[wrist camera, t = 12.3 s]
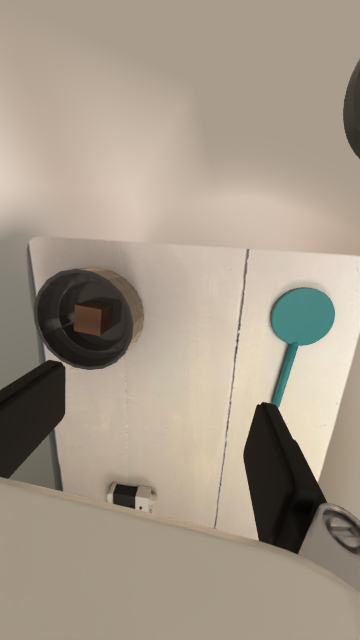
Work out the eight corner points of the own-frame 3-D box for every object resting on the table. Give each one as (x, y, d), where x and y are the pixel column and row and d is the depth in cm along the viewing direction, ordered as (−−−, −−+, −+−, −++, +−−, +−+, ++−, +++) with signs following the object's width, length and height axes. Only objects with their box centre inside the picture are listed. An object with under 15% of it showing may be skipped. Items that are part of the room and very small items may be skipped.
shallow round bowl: (60, 261, 36) (32, 261, 30) (148, 276, 35) (137, 278, 29) (60, 345, 40) (35, 359, 34) (139, 360, 39) (128, 377, 33)
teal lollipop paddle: (279, 283, 33) (281, 283, 32) (340, 292, 33) (345, 293, 31) (248, 399, 39) (249, 404, 38) (300, 409, 38) (303, 414, 37)
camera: (96, 517, 40) (149, 526, 39) (111, 481, 47) (157, 488, 46) (99, 572, 44) (148, 582, 43) (113, 531, 51) (155, 539, 50)
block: (88, 299, 37) (74, 304, 33) (113, 304, 36) (101, 309, 32) (87, 323, 38) (73, 331, 34) (111, 328, 38) (99, 336, 34)
